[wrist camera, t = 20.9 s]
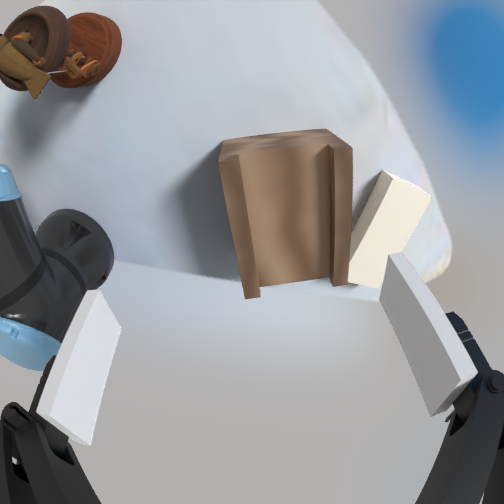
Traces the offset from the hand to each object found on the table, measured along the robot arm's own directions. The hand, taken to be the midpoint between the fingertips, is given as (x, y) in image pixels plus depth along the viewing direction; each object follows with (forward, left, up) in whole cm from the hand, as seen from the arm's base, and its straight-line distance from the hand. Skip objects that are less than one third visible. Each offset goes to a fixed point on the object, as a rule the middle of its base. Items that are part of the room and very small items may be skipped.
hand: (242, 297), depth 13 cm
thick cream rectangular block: (+20, -16, -29) cm, 38 cm away
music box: (-18, +19, -29) cm, 39 cm away
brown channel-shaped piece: (+5, -8, -29) cm, 30 cm away
